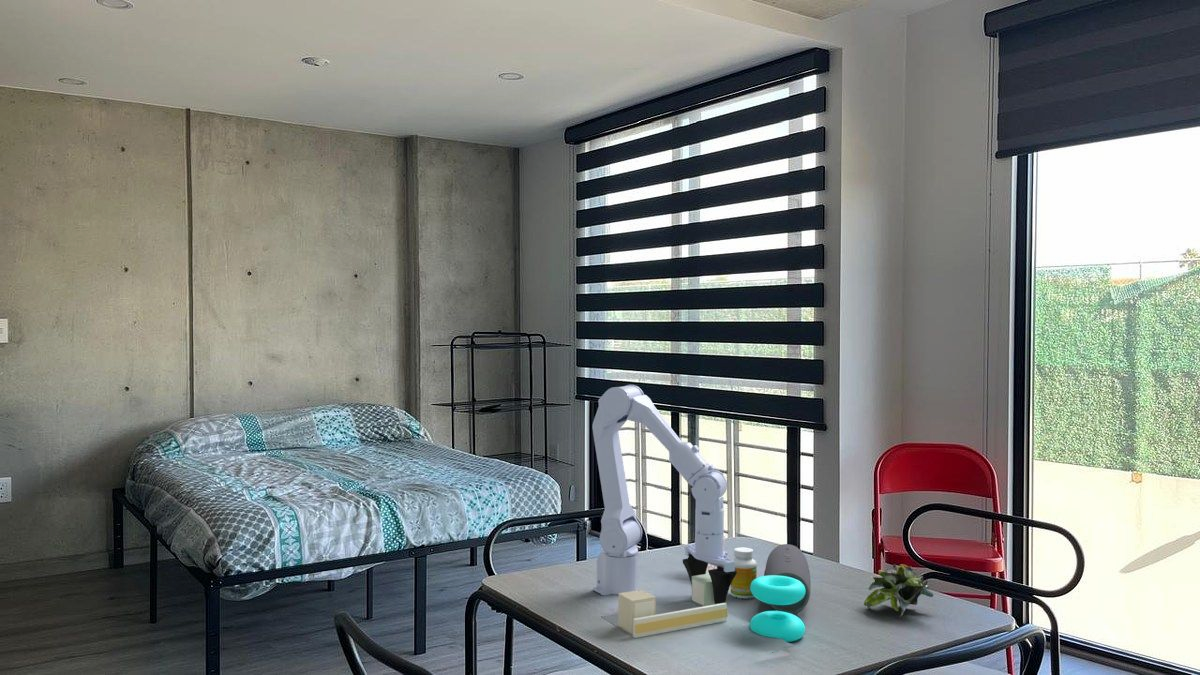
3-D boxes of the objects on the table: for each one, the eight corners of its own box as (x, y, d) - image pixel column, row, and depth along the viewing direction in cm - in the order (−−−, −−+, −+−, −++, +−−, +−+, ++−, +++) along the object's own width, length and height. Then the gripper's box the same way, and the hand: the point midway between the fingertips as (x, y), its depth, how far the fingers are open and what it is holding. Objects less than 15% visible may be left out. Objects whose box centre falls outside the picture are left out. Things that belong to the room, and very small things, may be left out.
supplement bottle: (756, 600, 182) (756, 553, 182) (729, 598, 183) (730, 551, 183) (756, 592, 188) (757, 547, 187) (731, 590, 189) (731, 545, 189)
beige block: (618, 625, 163) (618, 593, 163) (641, 621, 165) (641, 589, 165) (632, 634, 158) (632, 601, 158) (655, 629, 160) (656, 597, 160)
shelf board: (600, 622, 168) (600, 599, 168) (688, 607, 177) (688, 585, 177) (635, 645, 156) (635, 620, 156) (727, 627, 165) (727, 604, 165)
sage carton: (711, 602, 181) (711, 573, 181) (726, 609, 177) (726, 579, 177) (690, 605, 179) (691, 576, 179) (705, 612, 174) (705, 582, 174)
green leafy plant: (902, 633, 179) (937, 586, 179) (907, 641, 168) (944, 591, 168) (855, 597, 182) (889, 550, 182) (857, 603, 171) (893, 553, 171)
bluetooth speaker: (764, 585, 193) (765, 540, 193) (808, 588, 191) (808, 542, 191) (762, 619, 171) (763, 568, 170) (811, 622, 169) (812, 571, 169)
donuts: (769, 570, 169) (815, 580, 162) (768, 622, 169) (815, 634, 162) (739, 581, 161) (787, 592, 155) (739, 635, 162) (786, 649, 155)
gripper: (747, 537, 173) (746, 606, 173) (705, 522, 186) (704, 586, 186) (718, 541, 170) (717, 611, 170) (677, 526, 182) (676, 591, 183)
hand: (708, 598), depth 178 cm, fingers open, 7 cm apart
